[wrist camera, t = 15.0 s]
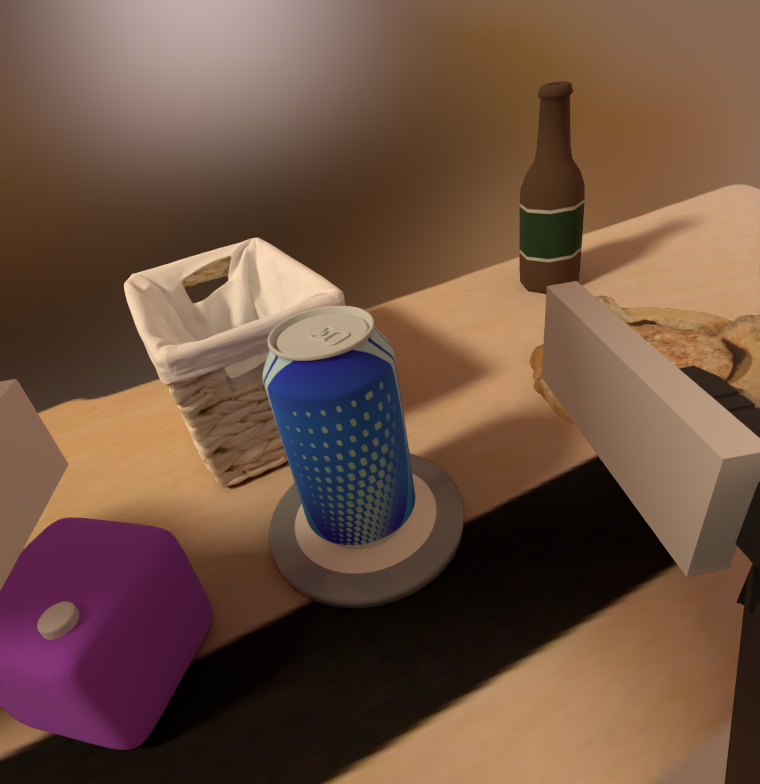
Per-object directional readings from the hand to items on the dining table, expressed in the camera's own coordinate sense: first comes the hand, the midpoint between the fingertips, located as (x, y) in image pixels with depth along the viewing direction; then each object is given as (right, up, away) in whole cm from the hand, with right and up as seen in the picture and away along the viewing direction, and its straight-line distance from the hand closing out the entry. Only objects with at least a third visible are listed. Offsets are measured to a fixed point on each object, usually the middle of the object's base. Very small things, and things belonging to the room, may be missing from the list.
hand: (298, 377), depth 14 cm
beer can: (+1, -10, +27) cm, 29 cm away
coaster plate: (+1, -11, +28) cm, 30 cm away
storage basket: (-11, -2, +44) cm, 45 cm away
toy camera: (-16, -18, +21) cm, 32 cm away
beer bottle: (+25, +14, +60) cm, 66 cm away
